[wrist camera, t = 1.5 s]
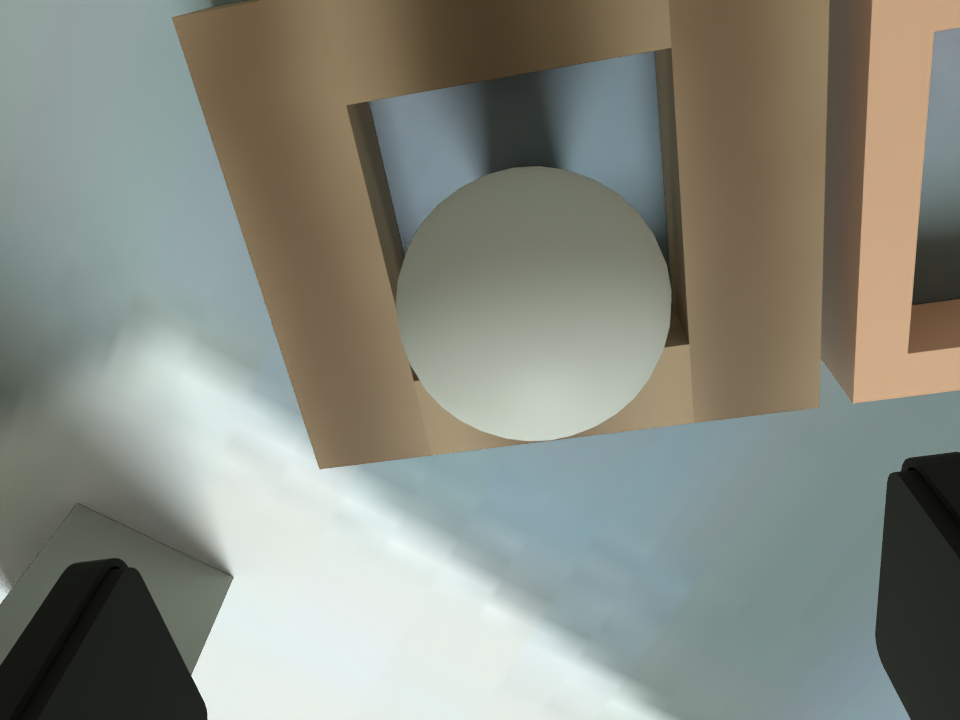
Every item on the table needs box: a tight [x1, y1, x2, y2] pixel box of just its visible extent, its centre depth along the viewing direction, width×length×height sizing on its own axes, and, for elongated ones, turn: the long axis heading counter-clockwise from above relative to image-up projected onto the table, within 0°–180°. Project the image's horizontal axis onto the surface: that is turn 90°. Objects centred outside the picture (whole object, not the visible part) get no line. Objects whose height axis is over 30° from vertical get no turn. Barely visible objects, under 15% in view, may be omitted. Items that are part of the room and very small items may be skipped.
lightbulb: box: [396, 166, 672, 441], centre depth 20 cm, size 6×6×11 cm
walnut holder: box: [172, 0, 830, 469], centre depth 24 cm, size 16×14×3 cm
